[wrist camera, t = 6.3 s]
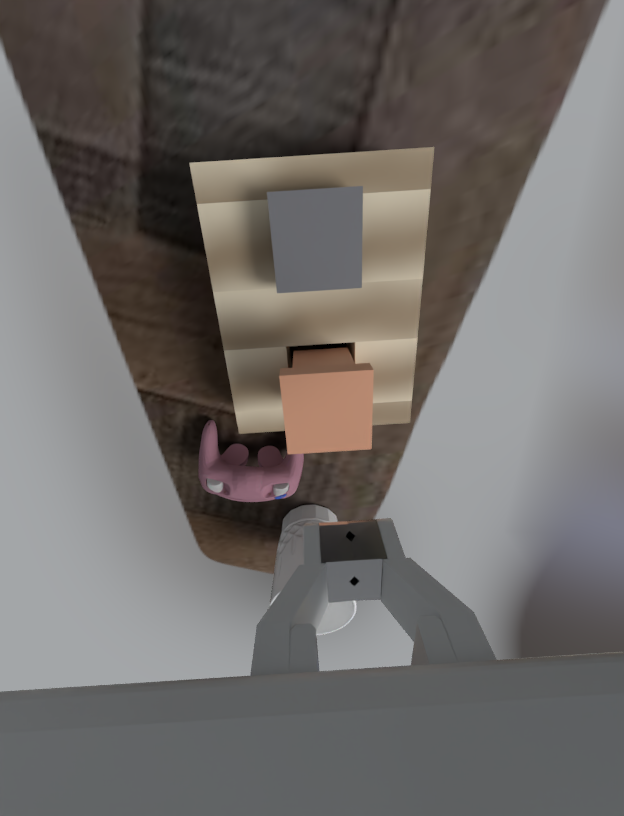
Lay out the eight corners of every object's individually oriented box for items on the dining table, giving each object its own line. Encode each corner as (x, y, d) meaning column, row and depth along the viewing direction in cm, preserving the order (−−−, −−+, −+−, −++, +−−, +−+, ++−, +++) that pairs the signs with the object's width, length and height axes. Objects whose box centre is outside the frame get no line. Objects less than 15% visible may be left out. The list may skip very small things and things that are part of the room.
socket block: (211, 179, 23) (189, 162, 18) (408, 166, 23) (434, 147, 18) (248, 406, 31) (239, 433, 26) (394, 397, 31) (409, 422, 26)
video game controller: (210, 439, 34) (194, 504, 30) (202, 414, 31) (183, 484, 26) (302, 445, 35) (300, 509, 31) (306, 422, 31) (303, 490, 27)
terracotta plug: (284, 343, 24) (278, 375, 18) (355, 338, 24) (373, 369, 18) (290, 406, 26) (287, 454, 20) (355, 402, 26) (371, 449, 20)
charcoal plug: (275, 206, 23) (266, 192, 17) (347, 201, 23) (362, 185, 17) (282, 282, 26) (277, 293, 20) (347, 278, 26) (361, 288, 20)
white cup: (343, 497, 36) (356, 579, 27) (343, 546, 40) (356, 633, 31) (273, 501, 36) (264, 585, 27) (280, 550, 40) (273, 638, 31)
